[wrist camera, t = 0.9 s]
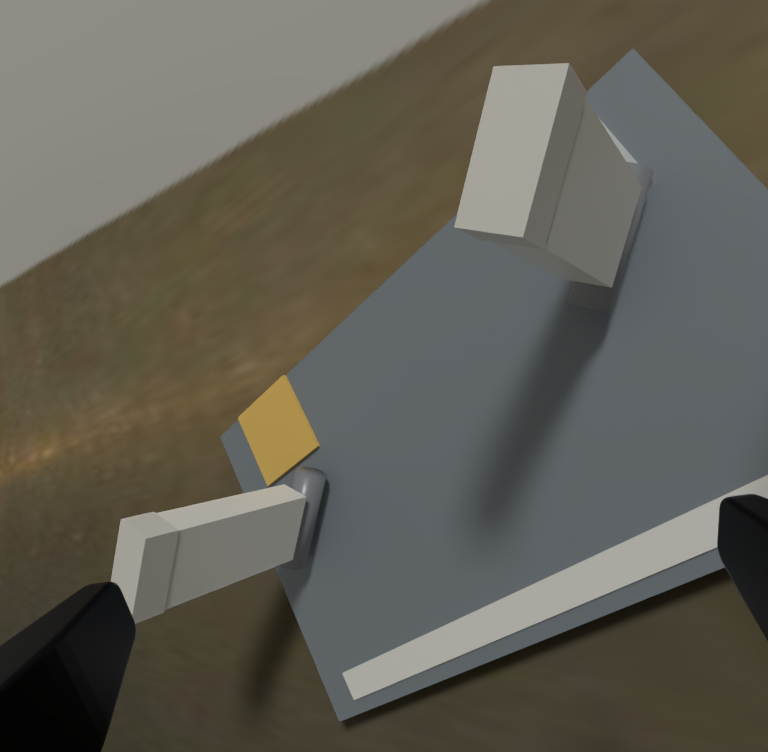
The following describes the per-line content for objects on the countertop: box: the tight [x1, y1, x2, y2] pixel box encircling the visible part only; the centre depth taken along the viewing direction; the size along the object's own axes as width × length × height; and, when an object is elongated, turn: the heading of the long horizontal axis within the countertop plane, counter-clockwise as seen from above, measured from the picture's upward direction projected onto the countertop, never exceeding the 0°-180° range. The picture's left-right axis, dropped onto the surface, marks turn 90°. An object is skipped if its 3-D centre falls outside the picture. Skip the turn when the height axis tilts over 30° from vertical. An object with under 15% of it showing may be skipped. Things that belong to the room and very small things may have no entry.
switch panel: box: [220, 49, 768, 722], centre depth 22 cm, size 15×25×1 cm, turn 123°
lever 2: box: [454, 63, 654, 314], centre depth 14 cm, size 2×4×9 cm, turn 163°
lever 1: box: [111, 467, 326, 624], centre depth 22 cm, size 2×4×9 cm, turn 163°
